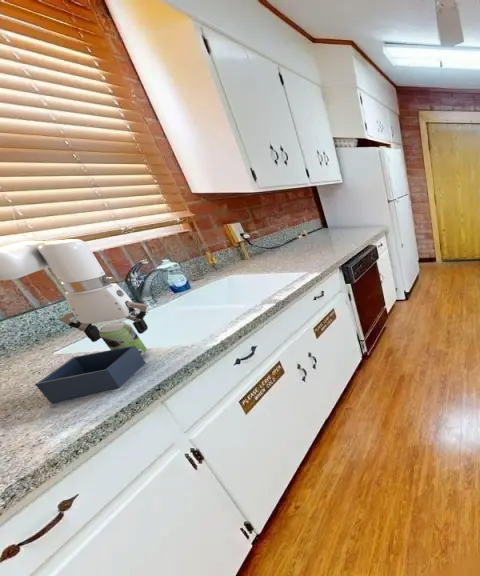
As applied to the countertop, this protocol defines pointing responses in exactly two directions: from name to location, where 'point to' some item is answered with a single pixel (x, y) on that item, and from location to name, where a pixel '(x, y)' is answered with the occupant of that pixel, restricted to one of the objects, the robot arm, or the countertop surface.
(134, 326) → the robot arm
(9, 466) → the countertop surface
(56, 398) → the bin
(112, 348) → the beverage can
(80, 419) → the countertop surface
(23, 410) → the countertop surface
